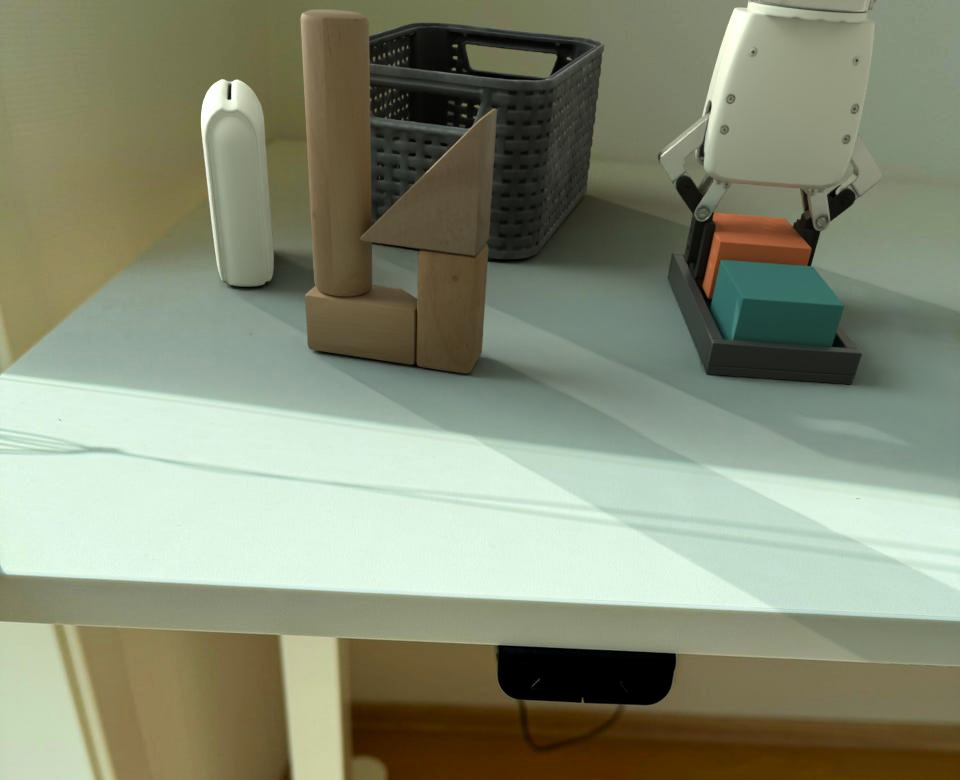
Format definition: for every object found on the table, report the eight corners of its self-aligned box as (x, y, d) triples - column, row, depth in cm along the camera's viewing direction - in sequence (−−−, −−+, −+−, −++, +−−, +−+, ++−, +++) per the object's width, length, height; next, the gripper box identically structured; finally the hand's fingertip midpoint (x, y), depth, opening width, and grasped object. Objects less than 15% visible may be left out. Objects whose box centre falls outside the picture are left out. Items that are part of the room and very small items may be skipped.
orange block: (772, 271, 73) (786, 218, 71) (796, 305, 67) (812, 248, 64) (691, 265, 73) (702, 211, 70) (707, 298, 67) (720, 241, 64)
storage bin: (529, 268, 75) (546, 77, 66) (309, 235, 78) (299, 49, 70) (591, 190, 96) (610, 39, 88) (417, 167, 100) (419, 19, 91)
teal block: (797, 322, 67) (813, 266, 64) (826, 366, 60) (845, 305, 58) (708, 316, 67) (720, 259, 64) (728, 359, 60) (742, 297, 58)
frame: (667, 278, 75) (672, 251, 74) (783, 286, 75) (790, 259, 74) (706, 374, 60) (713, 342, 58) (852, 384, 60) (862, 353, 59)
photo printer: (219, 246, 74) (200, 68, 66) (274, 247, 75) (260, 70, 67) (215, 289, 66) (192, 93, 59) (276, 289, 67) (261, 95, 59)
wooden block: (470, 376, 57) (489, 32, 46) (306, 352, 59) (285, 11, 47) (482, 355, 60) (504, 25, 49) (326, 332, 61) (311, 6, 50)
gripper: (925, -5, 61) (842, 270, 73) (668, -26, 61) (624, 254, 72) (969, 5, 56) (871, 302, 67) (684, -19, 55) (634, 284, 67)
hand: (743, 275), depth 69 cm, fingers closed on orange block, 6 cm apart
